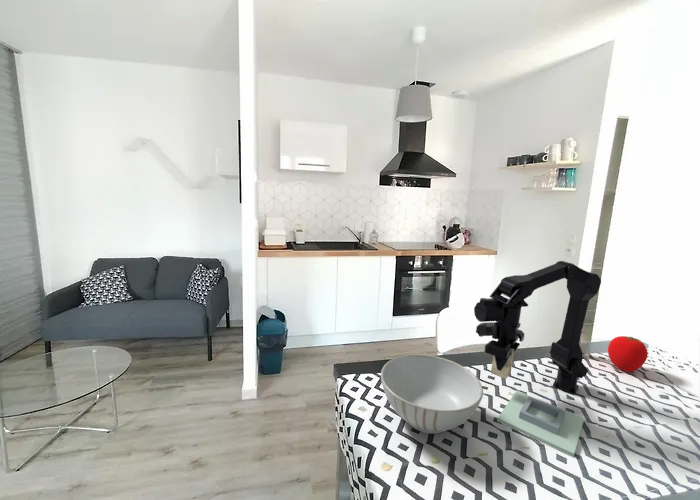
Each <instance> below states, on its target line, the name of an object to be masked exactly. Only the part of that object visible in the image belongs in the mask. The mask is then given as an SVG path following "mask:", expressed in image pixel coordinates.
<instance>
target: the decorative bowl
mask: <svg viewBox="0 0 700 500" xmlns="http://www.w3.org/2000/svg"><path fill="white" fill-rule="evenodd" d="M380 380H381V385H382V388H383V391H384V394H385V396H386V399H387V400H388V403H389V404H390V406H391V408H392V409H393V410H394V411H395V413H396V414H397V415H399V416H400V418H401V419H403V420H404V421H405V422H407V423H408V425H409V426H411V427H412V428H413V429H415V430H417V431H419V432H422V433H425V434H440V433H443V432H445V431H449V430H452V429H455V428H457V427H459V426H461V425H462V424H464V423H465V422H466V421H467V420H469V419H470V418H471V417H472V416H473V414H474V413H475V412H476V411H477V409H478V408H479V405H480V404H481V402H482V399H483V396H484V388H483V386H482V383H481V381H480V380H479V378H478V377H477V376H476V375H475V374H474V373H473V372H472V371H470V370H469V369H468V368H466V367H465V366H463V365H461V364H459V363H458V362H455V361H453V360H449V359H447V358H444V357H441V356H436V355H431V354H423V353H421V354H416V353H413V354H412V353H411V354H405V355H404V354H403V355H400V356H395V357H394V358H392V359H390V360H388V361H387V362H386V363H385V364H384V365H383V367H382V369H381V371H380Z"/></svg>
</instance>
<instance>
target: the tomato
mask: <svg viewBox="0 0 700 500" xmlns="http://www.w3.org/2000/svg"><path fill="white" fill-rule="evenodd" d="M607 354H608V359H609V360H610V362H611V363H612V365H614V366H615V368H617V369H618V370H621V371H623V372H626V373H633V372H635V371H637V370H639V369H641V368H642V366H643V365H644V364H646V363H645V362H647V359H648V349H647V346H646V345H645V343H644V342H642V340H641V339H638V338H635V337H633V336H624V335H622V336H621V335H620V336H615V337H614V338H612V339H611V341H610V342H609V343H608V346H607Z"/></svg>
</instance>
